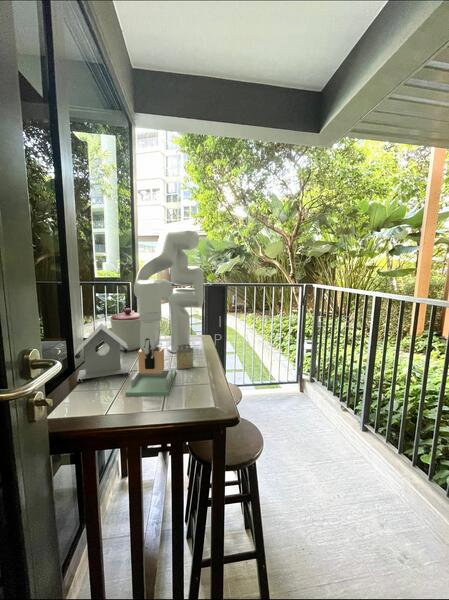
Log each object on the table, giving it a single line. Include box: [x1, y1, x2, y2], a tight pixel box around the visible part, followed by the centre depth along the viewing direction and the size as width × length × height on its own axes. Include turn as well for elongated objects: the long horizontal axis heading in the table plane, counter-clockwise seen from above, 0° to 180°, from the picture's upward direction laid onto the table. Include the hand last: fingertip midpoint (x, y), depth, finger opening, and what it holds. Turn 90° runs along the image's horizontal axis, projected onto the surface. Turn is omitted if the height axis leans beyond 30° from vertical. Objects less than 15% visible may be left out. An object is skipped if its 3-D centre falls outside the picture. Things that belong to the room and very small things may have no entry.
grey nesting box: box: [74, 323, 130, 382], centre depth 106 cm, size 18×10×20 cm, turn 114°
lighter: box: [176, 344, 194, 370], centre depth 115 cm, size 7×4×10 cm, turn 110°
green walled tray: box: [125, 368, 177, 397], centre depth 101 cm, size 20×14×4 cm
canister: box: [108, 307, 141, 352], centre depth 140 cm, size 18×18×21 cm
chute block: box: [137, 346, 165, 373], centre depth 98 cm, size 5×8×8 cm, turn 92°
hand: (151, 365), depth 98 cm, fingers closed on chute block, 5 cm apart
